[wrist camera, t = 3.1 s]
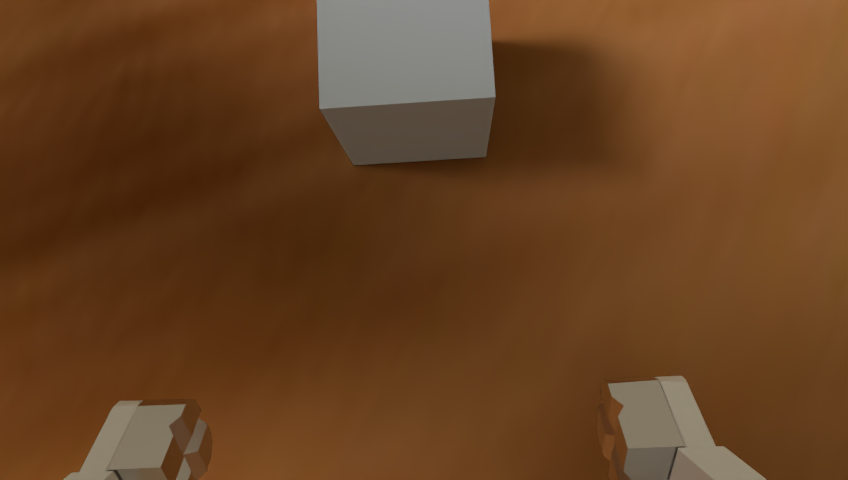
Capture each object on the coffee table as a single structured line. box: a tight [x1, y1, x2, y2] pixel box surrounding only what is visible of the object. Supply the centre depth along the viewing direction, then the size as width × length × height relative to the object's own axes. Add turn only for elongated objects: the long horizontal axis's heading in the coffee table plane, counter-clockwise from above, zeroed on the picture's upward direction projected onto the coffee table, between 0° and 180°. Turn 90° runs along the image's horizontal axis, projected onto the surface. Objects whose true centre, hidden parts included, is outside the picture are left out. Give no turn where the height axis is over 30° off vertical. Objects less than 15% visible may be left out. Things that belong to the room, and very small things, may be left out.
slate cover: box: [317, 0, 496, 165], centre depth 25 cm, size 6×6×7 cm
